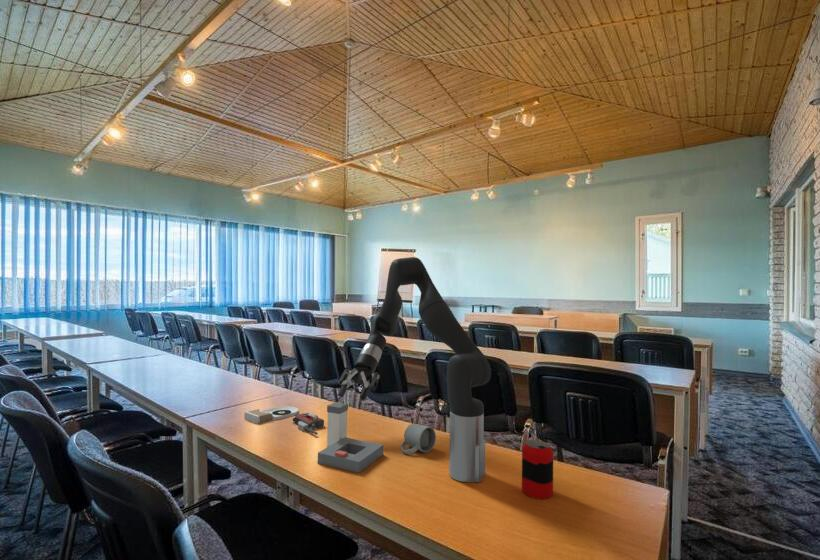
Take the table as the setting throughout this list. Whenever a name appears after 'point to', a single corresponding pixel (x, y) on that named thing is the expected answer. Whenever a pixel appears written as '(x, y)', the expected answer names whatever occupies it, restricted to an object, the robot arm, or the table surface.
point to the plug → (336, 422)
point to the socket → (355, 461)
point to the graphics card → (270, 414)
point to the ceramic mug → (418, 438)
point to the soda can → (537, 469)
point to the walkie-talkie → (308, 422)
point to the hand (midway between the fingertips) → (350, 397)
